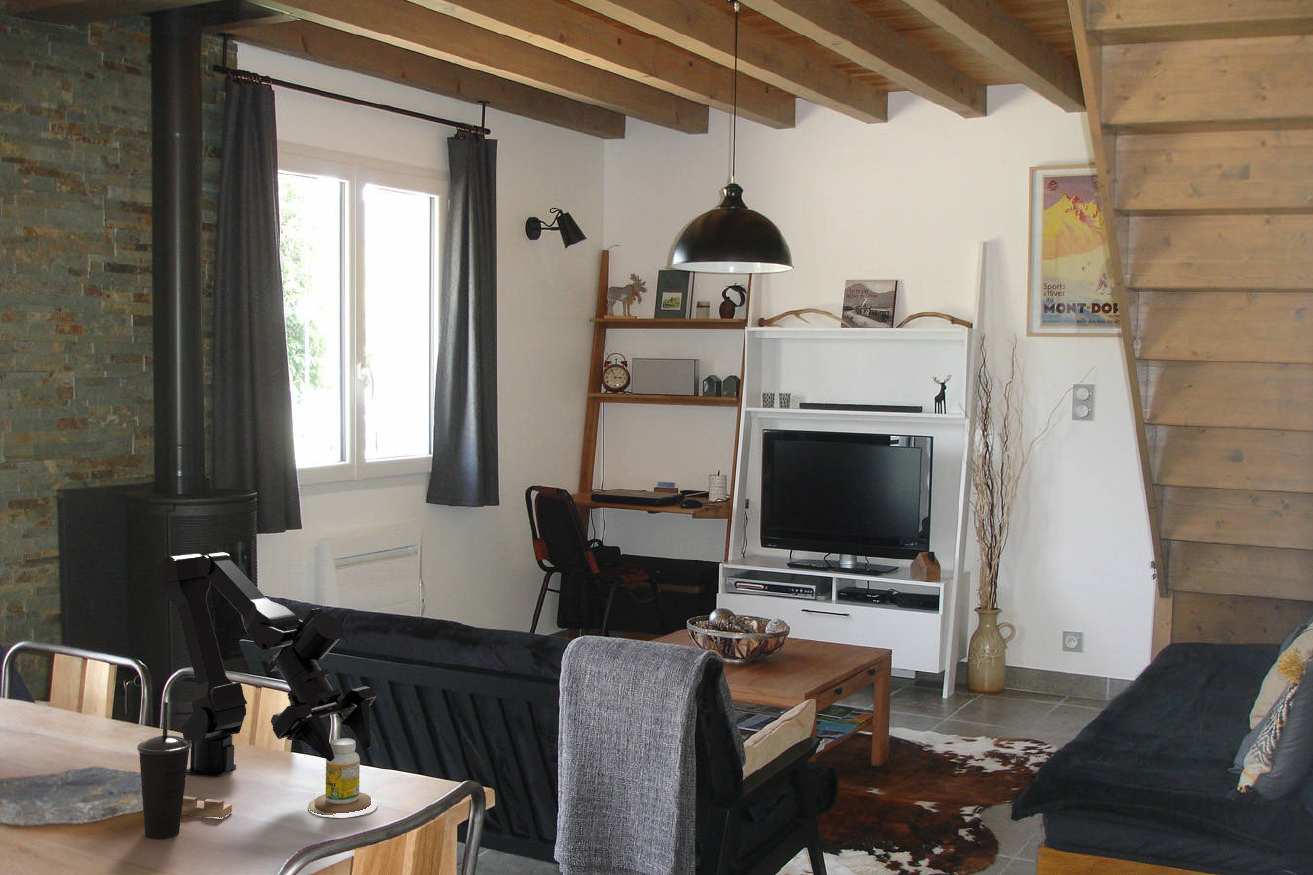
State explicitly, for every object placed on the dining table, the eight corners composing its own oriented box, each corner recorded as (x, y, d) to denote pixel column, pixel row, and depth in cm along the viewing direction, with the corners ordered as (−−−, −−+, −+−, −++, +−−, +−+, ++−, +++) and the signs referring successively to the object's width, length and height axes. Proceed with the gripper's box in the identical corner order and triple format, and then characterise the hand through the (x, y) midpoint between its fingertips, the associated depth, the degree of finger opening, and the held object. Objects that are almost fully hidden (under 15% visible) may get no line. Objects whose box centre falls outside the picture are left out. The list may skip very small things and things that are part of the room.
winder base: (295, 814, 199) (295, 806, 199) (327, 793, 210) (327, 786, 210) (359, 821, 197) (359, 814, 197) (388, 800, 208) (388, 793, 208)
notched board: (175, 814, 197) (176, 797, 197) (186, 808, 200) (187, 791, 200) (221, 819, 195) (222, 802, 195) (231, 813, 198) (232, 796, 198)
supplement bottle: (364, 801, 203) (365, 743, 202) (333, 807, 200) (334, 748, 199) (350, 791, 207) (352, 734, 207) (320, 797, 204) (321, 739, 203)
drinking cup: (172, 821, 193) (176, 694, 193) (198, 833, 189) (202, 703, 188) (125, 833, 188) (128, 702, 187) (151, 846, 183) (155, 711, 182)
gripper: (318, 694, 219) (363, 768, 213) (235, 716, 202) (281, 796, 197) (353, 656, 214) (400, 730, 209) (271, 675, 198) (319, 756, 193)
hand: (351, 753), depth 202 cm, fingers open, 8 cm apart
